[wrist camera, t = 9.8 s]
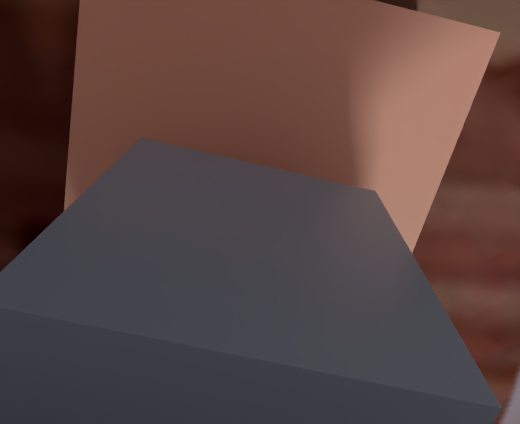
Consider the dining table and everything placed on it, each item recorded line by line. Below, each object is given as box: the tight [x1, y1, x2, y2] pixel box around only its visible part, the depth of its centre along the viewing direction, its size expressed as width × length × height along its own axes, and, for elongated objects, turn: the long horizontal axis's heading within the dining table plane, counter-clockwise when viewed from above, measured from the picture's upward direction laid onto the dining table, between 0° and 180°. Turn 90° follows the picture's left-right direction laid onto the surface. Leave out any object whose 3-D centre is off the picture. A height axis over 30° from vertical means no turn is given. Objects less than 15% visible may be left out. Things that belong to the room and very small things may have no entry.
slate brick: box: [0, 137, 502, 424], centre depth 9 cm, size 8×5×6 cm, turn 167°
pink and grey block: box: [64, 0, 500, 253], centre depth 17 cm, size 15×10×8 cm, turn 167°
